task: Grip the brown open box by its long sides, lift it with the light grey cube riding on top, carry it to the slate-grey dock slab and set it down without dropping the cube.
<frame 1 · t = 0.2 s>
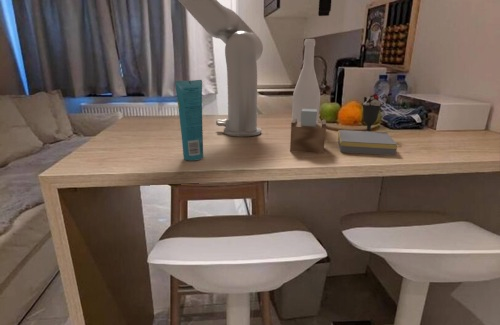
hand: (324, 13, 92), 36 cm above the breakfast bar, tool pointing down, fingers open, 9 cm apart
light grey cube: (308, 124, 89), point 7 cm above the breakfast bar, touching brown open box
tube: (193, 158, 82), on the breakfast bar
wine bottle: (304, 127, 119), on the breakfast bar
sundae: (368, 135, 107), on the breakfast bar
dock: (364, 146, 93), on the breakfast bar
brown open box: (307, 149, 91), on the breakfast bar, touching light grey cube
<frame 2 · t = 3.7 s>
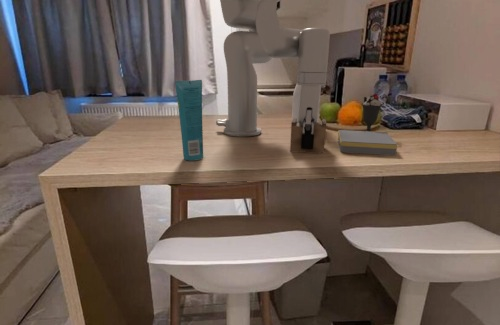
hand: (307, 144, 90), 1 cm above the breakfast bar, tool pointing down, fingers closed on brown open box, 6 cm apart
brown open box: (307, 149, 91), on the breakfast bar, touching light grey cube, gripper
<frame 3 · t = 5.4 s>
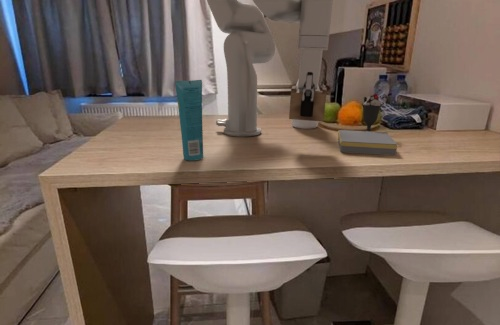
hand: (306, 113, 88), 10 cm above the breakfast bar, tool pointing down, fingers closed on brown open box, 6 cm apart
light grey cube: (307, 91, 86), point 16 cm above the breakfast bar, touching brown open box
brown open box: (306, 117, 89), point 9 cm above the breakfast bar, touching light grey cube, gripper
everything else where it was.
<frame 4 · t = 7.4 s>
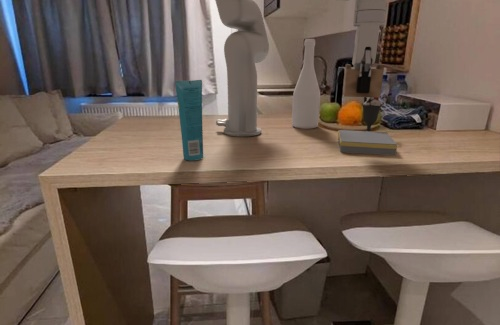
hand: (361, 90, 88), 16 cm above the breakfast bar, tool pointing down, fingers closed on brown open box, 6 cm apart
light grey cube: (361, 68, 86), point 22 cm above the breakfast bar, touching brown open box
brown open box: (360, 95, 88), point 15 cm above the breakfast bar, touching light grey cube, gripper
everything else where it was.
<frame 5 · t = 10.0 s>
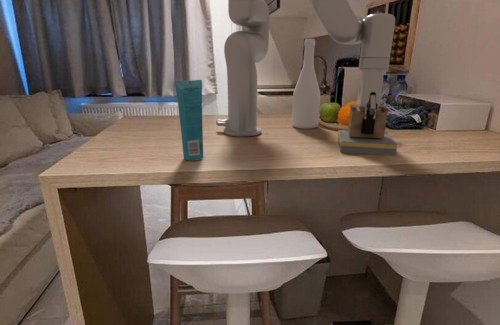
hand: (365, 130, 92), 5 cm above the breakfast bar, tool pointing down, fingers closed on brown open box, 6 cm apart
light grey cube: (366, 109, 90), point 11 cm above the breakfast bar, touching brown open box
brown open box: (365, 134, 92), point 4 cm above the breakfast bar, touching light grey cube, gripper
everything else where it was.
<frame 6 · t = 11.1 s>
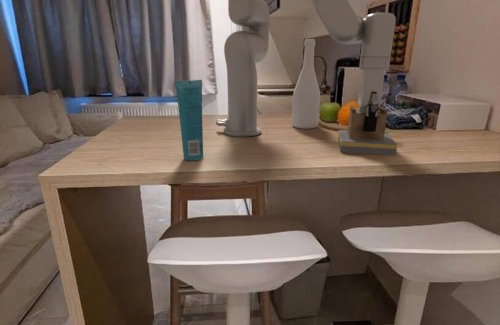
hand: (366, 127, 92), 6 cm above the breakfast bar, tool pointing down, fingers open, 9 cm apart
brown open box: (364, 136, 93), point 3 cm above the breakfast bar, touching light grey cube, dock
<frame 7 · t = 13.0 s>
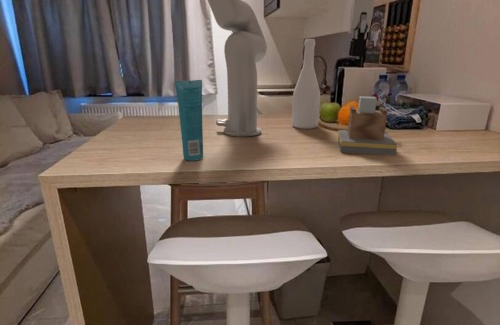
hand: (355, 56, 89), 25 cm above the breakfast bar, tool pointing down, fingers open, 9 cm apart
nothing on the breakfast bar moved.
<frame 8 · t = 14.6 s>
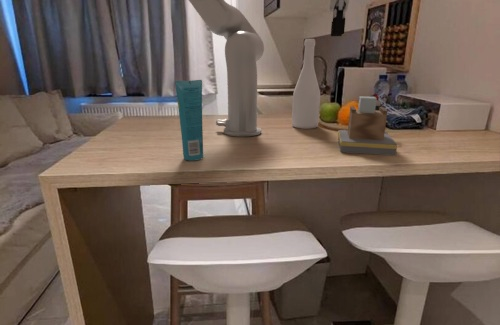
hand: (336, 35, 92), 30 cm above the breakfast bar, tool pointing down, fingers open, 9 cm apart
nothing on the breakfast bar moved.
at the end: brown open box inside the target area on the dock (0.2 cm from its centre), point 3.0 cm above the dock's base; light grey cube 0.4 cm off-centre on the brown open box, point 7.0 cm above the brown open box's base; light grey cube tilted 0° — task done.
